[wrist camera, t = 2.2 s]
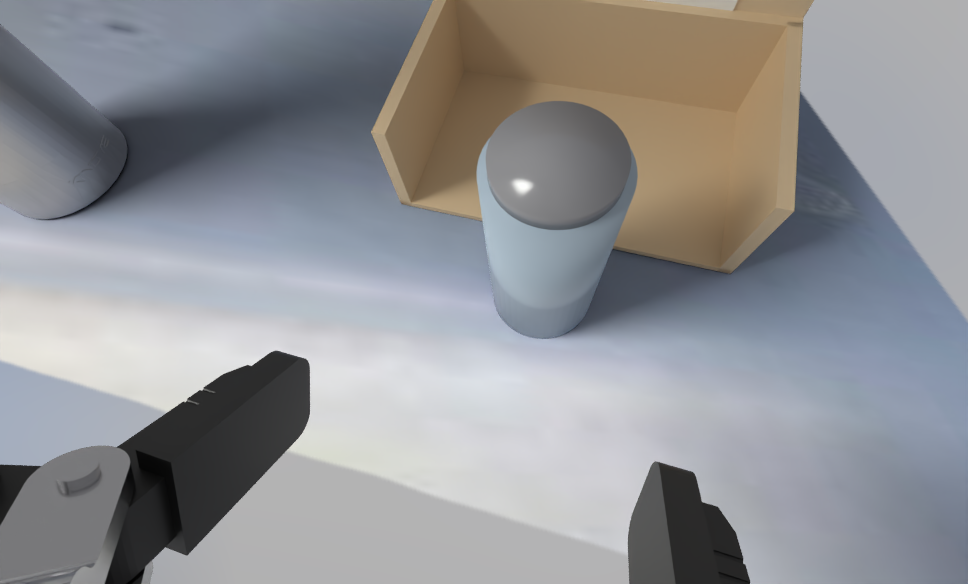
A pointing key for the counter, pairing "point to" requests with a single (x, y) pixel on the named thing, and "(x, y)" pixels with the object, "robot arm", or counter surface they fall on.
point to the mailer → (615, 109)
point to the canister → (552, 211)
